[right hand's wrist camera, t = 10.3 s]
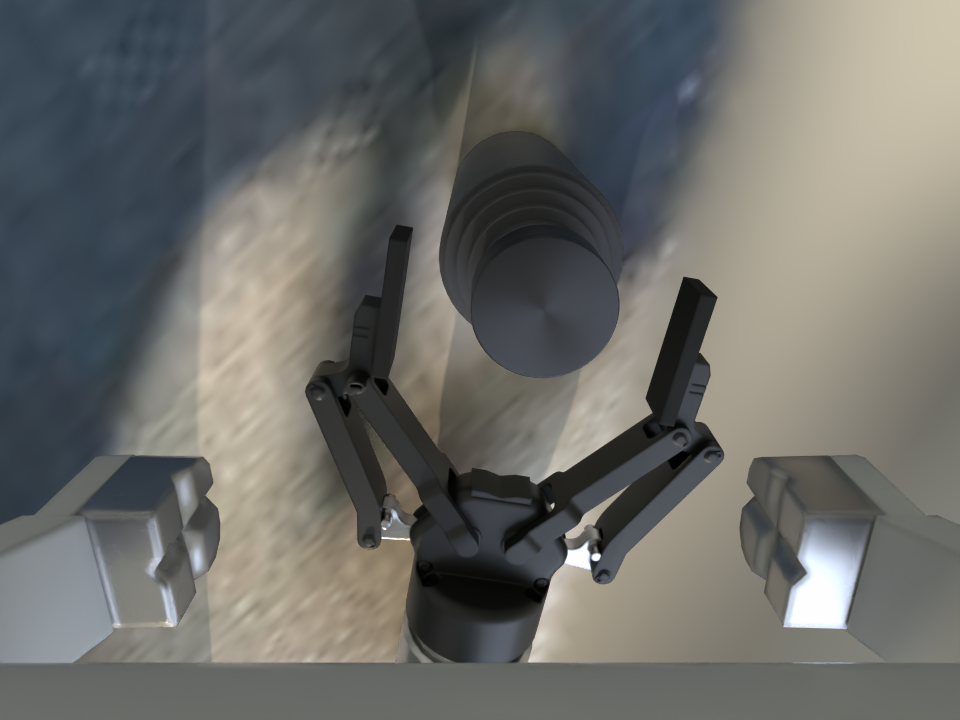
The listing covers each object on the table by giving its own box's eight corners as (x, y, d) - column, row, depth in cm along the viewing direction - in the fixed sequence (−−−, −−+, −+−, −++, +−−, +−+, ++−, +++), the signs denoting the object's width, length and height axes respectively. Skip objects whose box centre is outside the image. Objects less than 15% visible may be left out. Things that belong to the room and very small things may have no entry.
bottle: (428, 195, 35) (381, 307, 18) (515, 103, 33) (548, 134, 17) (512, 278, 36) (539, 446, 20) (599, 194, 35) (706, 304, 18)
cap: (442, 293, 19) (439, 311, 18) (543, 193, 18) (548, 204, 17) (537, 381, 21) (541, 405, 19) (637, 291, 19) (650, 310, 18)
